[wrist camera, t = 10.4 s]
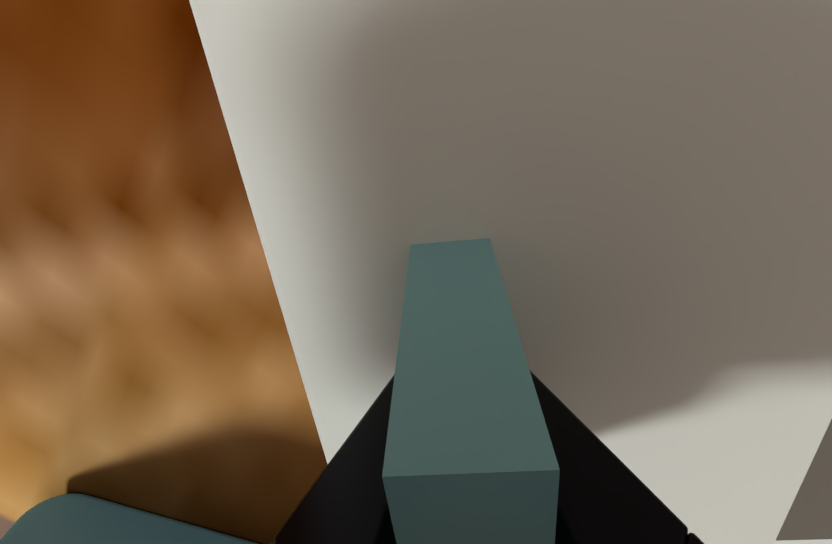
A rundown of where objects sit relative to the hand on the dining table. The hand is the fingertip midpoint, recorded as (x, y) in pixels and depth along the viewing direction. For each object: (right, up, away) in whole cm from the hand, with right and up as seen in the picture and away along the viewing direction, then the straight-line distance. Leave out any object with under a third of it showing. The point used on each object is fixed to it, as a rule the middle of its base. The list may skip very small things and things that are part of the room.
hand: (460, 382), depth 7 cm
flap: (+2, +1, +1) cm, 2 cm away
